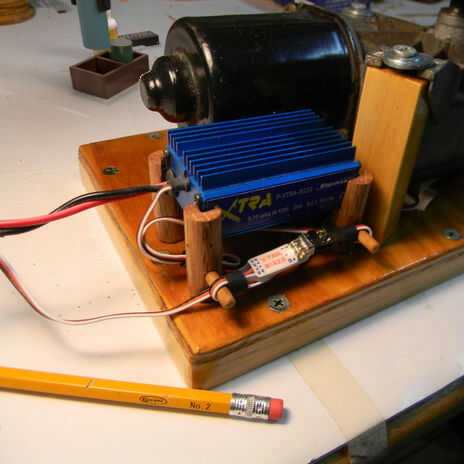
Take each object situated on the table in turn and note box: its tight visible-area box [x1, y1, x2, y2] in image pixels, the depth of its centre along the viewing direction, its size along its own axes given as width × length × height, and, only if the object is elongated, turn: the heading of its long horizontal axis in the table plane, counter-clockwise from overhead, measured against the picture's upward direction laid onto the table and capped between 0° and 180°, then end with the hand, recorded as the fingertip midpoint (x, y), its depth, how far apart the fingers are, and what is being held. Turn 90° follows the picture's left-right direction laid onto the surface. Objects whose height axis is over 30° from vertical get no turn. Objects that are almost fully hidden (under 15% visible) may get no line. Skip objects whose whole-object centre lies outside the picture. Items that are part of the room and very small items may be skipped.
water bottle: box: [76, 0, 111, 51], centre depth 96 cm, size 5×5×13 cm
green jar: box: [108, 38, 134, 64], centre depth 109 cm, size 5×5×8 cm
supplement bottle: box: [90, 8, 119, 57], centre depth 114 cm, size 7×7×13 cm
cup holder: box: [68, 49, 151, 100], centre depth 107 cm, size 9×16×6 cm, turn 162°
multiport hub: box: [118, 30, 160, 48], centre depth 129 cm, size 4×11×2 cm, turn 140°
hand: (91, 6), depth 95 cm, fingers closed on water bottle, 5 cm apart
